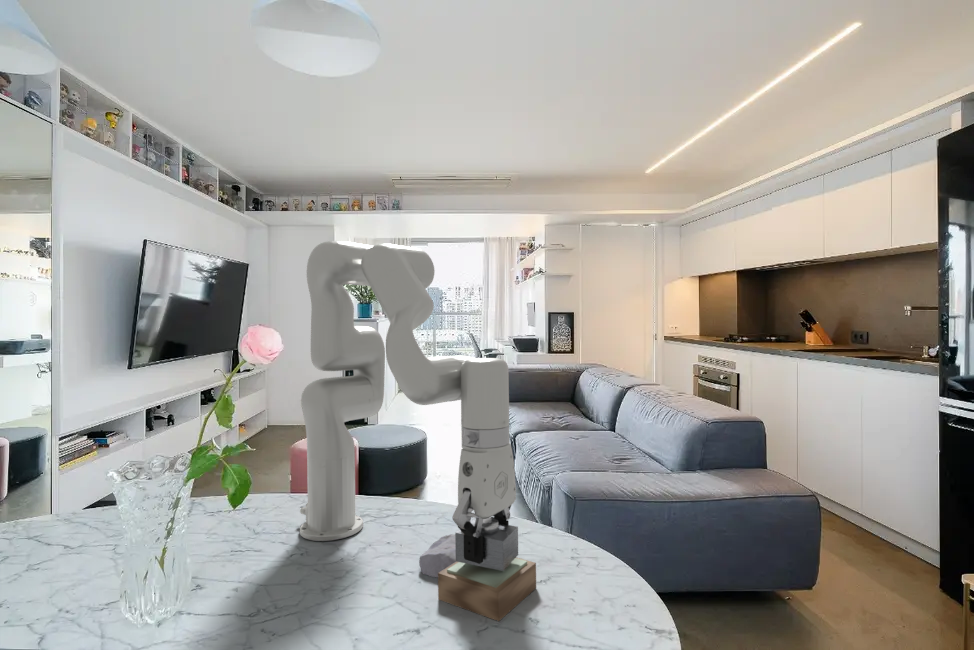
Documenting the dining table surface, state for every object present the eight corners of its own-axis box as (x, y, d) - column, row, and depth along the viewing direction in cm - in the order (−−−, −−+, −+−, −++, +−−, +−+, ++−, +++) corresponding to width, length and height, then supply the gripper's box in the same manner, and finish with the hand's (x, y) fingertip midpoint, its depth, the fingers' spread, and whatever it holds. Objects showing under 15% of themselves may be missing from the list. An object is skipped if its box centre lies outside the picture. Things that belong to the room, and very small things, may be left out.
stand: (438, 599, 78) (437, 570, 78) (479, 570, 87) (479, 544, 87) (498, 621, 72) (498, 589, 72) (536, 588, 81) (535, 560, 81)
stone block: (416, 586, 86) (469, 582, 83) (411, 556, 86) (464, 552, 83) (445, 558, 97) (493, 555, 94) (440, 533, 98) (488, 528, 94)
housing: (503, 571, 75) (503, 532, 75) (455, 561, 78) (455, 524, 78) (518, 554, 80) (517, 519, 80) (472, 546, 84) (472, 512, 84)
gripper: (472, 451, 70) (474, 581, 70) (533, 430, 85) (534, 538, 84) (431, 445, 74) (432, 568, 74) (495, 425, 89) (497, 528, 89)
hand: (487, 551), depth 79 cm, fingers closed on housing, 6 cm apart
